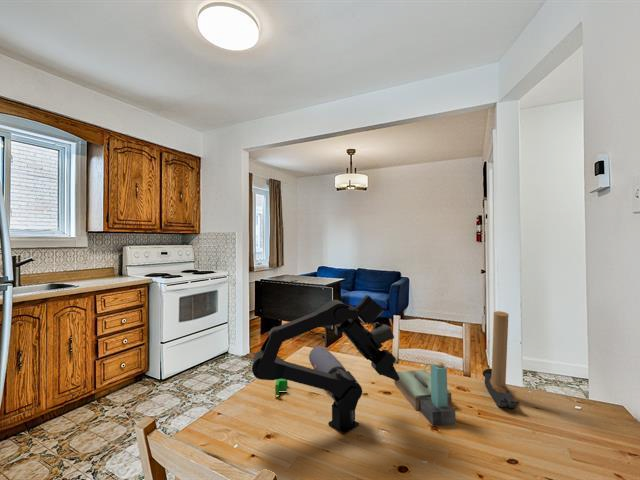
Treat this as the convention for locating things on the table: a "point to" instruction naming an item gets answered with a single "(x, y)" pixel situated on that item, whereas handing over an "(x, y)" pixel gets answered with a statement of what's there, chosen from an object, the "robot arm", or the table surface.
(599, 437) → the table surface
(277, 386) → the pipe clamp
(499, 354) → the hammer
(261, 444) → the table surface
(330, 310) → the robot arm
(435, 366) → the teal rectangular block
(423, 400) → the toolbox
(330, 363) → the bluetooth speaker
